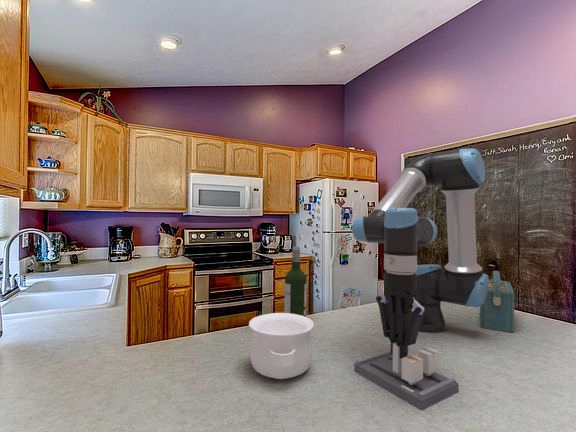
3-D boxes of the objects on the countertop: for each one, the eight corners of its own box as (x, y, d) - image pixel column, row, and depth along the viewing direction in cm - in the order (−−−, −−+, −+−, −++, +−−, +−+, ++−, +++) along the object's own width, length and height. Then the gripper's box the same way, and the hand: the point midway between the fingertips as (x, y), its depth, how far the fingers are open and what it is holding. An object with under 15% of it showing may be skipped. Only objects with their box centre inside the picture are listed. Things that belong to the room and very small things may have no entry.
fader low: (401, 383, 73) (401, 357, 73) (412, 378, 75) (412, 353, 75) (412, 389, 71) (412, 361, 71) (423, 384, 73) (423, 357, 73)
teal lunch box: (515, 334, 113) (515, 278, 114) (479, 328, 119) (480, 275, 119) (510, 316, 135) (510, 269, 135) (480, 312, 141) (481, 266, 141)
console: (354, 371, 84) (354, 360, 84) (389, 359, 91) (389, 349, 91) (421, 410, 67) (421, 396, 67) (458, 391, 74) (458, 379, 74)
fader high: (417, 374, 77) (418, 349, 77) (427, 370, 80) (428, 346, 80) (428, 379, 75) (429, 354, 75) (438, 375, 77) (438, 350, 77)
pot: (323, 388, 75) (323, 336, 75) (249, 394, 72) (250, 340, 72) (304, 350, 97) (304, 310, 97) (246, 353, 94) (247, 312, 94)
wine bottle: (310, 330, 114) (311, 247, 114) (292, 335, 109) (293, 248, 109) (297, 324, 120) (298, 245, 120) (279, 328, 116) (281, 246, 116)
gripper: (368, 269, 80) (367, 363, 80) (413, 277, 69) (412, 387, 68) (388, 267, 84) (387, 357, 84) (434, 275, 73) (433, 378, 73)
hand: (398, 370), depth 76 cm, fingers closed
